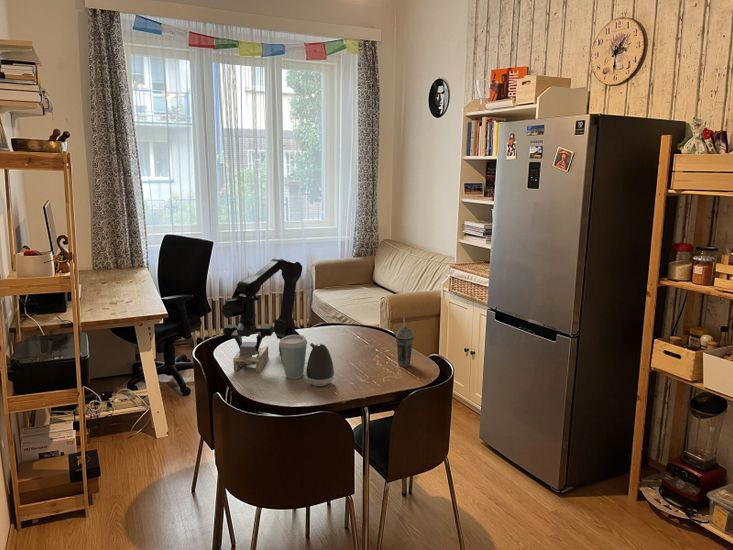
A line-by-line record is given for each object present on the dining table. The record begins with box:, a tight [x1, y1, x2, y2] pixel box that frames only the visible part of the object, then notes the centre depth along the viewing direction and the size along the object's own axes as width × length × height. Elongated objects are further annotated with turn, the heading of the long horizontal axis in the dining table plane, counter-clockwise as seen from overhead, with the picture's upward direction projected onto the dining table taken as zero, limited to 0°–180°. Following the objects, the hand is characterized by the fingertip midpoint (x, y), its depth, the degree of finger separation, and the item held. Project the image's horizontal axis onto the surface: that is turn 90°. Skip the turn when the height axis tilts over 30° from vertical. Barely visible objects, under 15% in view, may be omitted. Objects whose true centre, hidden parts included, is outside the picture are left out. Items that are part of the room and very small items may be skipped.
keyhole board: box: [232, 345, 269, 373], centre depth 230 cm, size 10×16×6 cm, turn 177°
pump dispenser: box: [305, 342, 335, 387], centre depth 210 cm, size 10×10×15 cm
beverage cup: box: [395, 317, 414, 368], centre depth 230 cm, size 7×7×20 cm
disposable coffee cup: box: [278, 334, 308, 380], centre depth 218 cm, size 11×11×15 cm
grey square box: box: [239, 341, 259, 365], centre depth 227 cm, size 6×6×7 cm
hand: (249, 351), depth 227 cm, fingers closed on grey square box, 6 cm apart
